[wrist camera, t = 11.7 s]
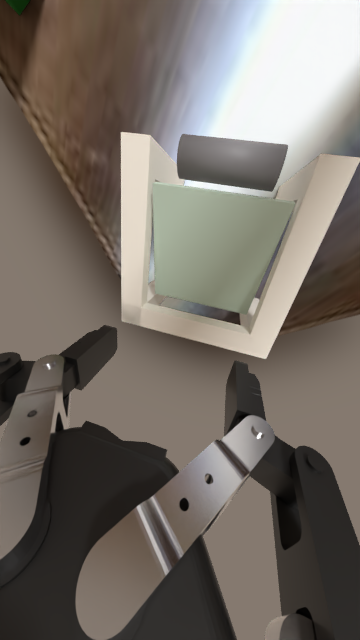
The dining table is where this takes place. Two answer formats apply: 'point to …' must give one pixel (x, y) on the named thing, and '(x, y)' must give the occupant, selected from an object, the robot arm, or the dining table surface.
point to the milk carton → (18, 5)
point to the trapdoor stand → (286, 273)
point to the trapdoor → (218, 222)
